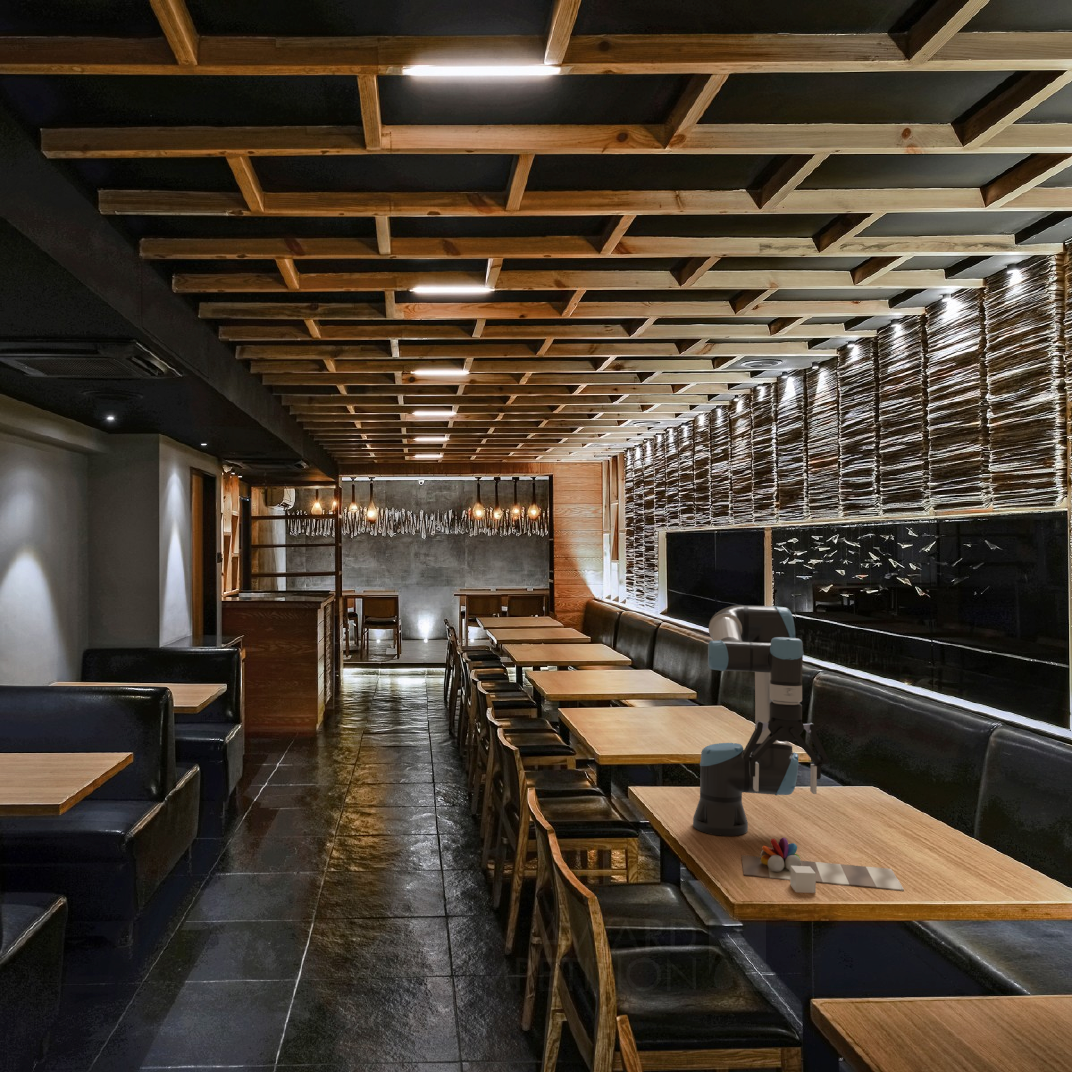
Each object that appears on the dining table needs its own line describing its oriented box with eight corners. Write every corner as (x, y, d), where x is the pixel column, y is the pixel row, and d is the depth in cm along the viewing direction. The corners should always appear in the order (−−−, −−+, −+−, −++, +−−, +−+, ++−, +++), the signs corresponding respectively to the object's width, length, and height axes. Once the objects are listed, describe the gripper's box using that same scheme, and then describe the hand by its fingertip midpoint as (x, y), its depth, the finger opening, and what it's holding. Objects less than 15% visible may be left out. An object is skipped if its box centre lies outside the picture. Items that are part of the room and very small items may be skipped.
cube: (795, 892, 194) (795, 872, 194) (790, 885, 199) (790, 865, 199) (815, 893, 194) (815, 873, 194) (809, 886, 199) (810, 866, 199)
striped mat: (743, 875, 204) (743, 874, 204) (741, 856, 218) (741, 855, 218) (904, 890, 197) (904, 889, 197) (891, 870, 210) (891, 868, 210)
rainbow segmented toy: (755, 861, 213) (755, 832, 213) (792, 861, 214) (793, 832, 214) (767, 874, 204) (767, 843, 205) (806, 874, 205) (806, 843, 205)
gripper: (736, 702, 202) (734, 793, 201) (843, 706, 201) (842, 797, 200) (730, 698, 210) (729, 785, 209) (833, 701, 208) (832, 789, 207)
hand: (784, 791), depth 204 cm, fingers open, 13 cm apart
